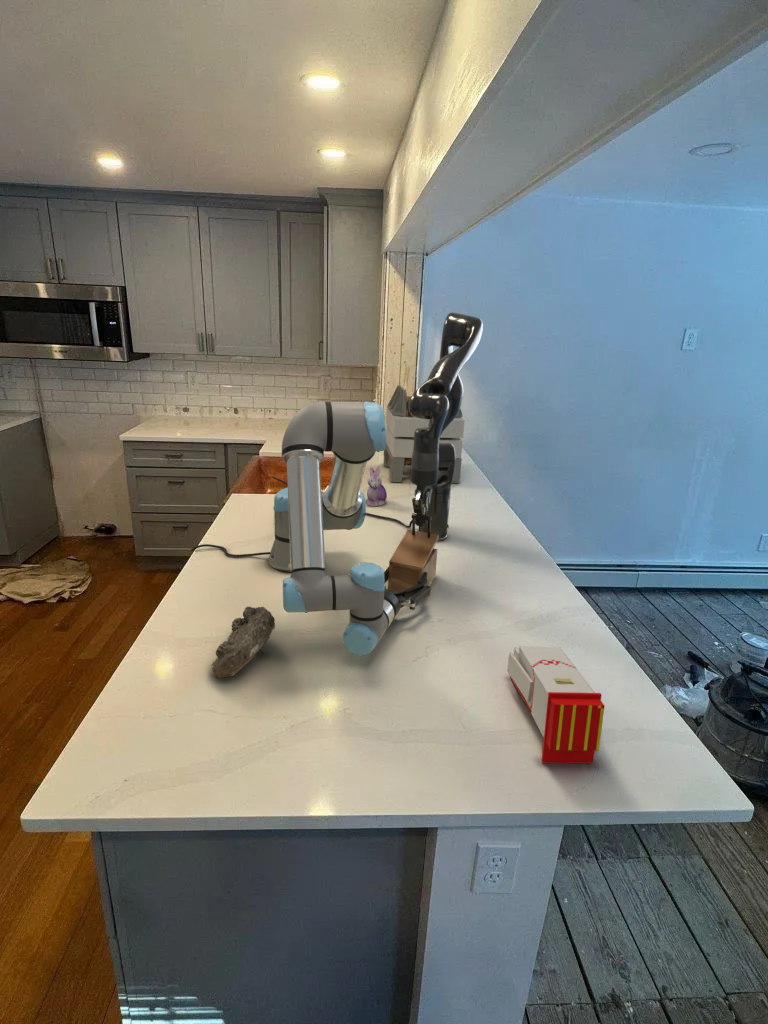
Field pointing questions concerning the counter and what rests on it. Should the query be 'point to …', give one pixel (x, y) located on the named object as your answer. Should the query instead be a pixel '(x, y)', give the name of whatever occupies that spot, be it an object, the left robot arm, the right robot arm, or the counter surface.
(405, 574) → the chest
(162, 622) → the counter surface
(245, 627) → the fossil
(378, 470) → the figurine
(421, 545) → the lid
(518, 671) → the toy
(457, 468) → the transformer
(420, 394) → the right robot arm
